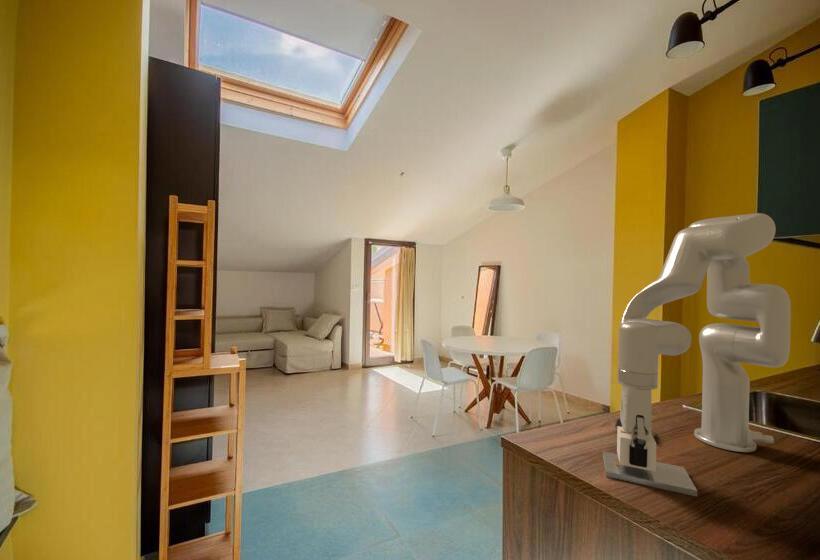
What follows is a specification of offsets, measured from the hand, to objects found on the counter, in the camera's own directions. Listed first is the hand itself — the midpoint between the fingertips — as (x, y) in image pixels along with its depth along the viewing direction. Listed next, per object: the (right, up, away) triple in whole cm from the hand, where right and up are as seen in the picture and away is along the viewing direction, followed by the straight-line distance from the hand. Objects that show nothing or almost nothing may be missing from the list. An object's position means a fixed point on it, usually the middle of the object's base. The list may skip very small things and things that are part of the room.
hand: (635, 457), depth 81 cm
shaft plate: (+2, -3, -1) cm, 4 cm away
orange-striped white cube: (0, -1, 0) cm, 1 cm away
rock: (+12, -4, +20) cm, 24 cm away
